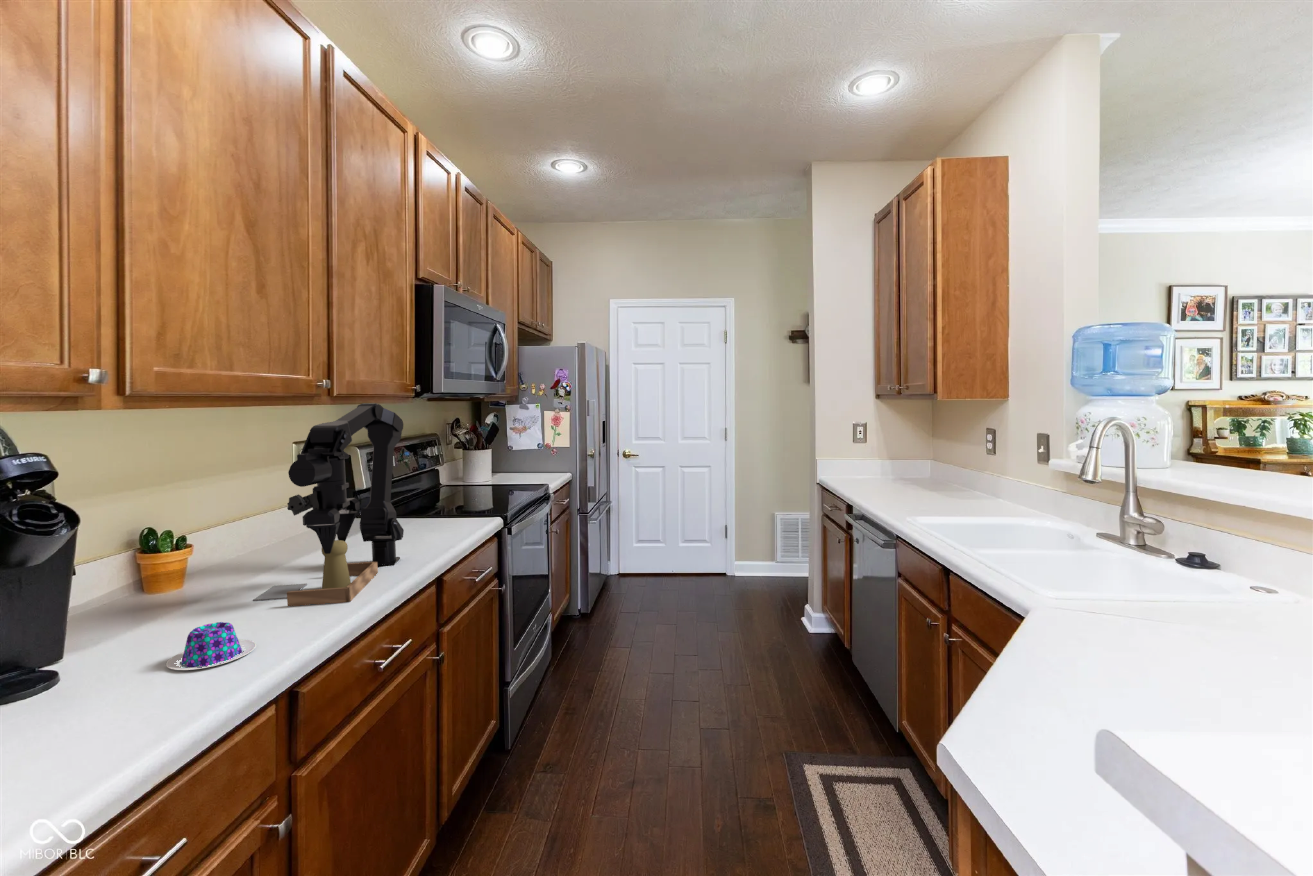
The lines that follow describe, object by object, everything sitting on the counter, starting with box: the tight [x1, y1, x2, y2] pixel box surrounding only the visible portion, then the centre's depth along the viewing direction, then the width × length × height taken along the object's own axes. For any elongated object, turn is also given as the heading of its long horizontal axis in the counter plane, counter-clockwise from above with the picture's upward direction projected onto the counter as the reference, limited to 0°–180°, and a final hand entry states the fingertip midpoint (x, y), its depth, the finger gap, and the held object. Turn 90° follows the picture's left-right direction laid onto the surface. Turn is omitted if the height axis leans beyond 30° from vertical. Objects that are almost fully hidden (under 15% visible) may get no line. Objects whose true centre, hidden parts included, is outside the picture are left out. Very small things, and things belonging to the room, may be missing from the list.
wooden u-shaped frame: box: [286, 561, 379, 607], centre depth 134 cm, size 22×12×3 cm, turn 11°
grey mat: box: [252, 583, 308, 602], centre depth 132 cm, size 10×7×1 cm
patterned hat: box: [165, 621, 257, 671], centre depth 98 cm, size 12×12×5 cm
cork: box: [321, 539, 352, 589], centre depth 134 cm, size 6×6×11 cm
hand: (335, 548), depth 134 cm, fingers open, 9 cm apart
